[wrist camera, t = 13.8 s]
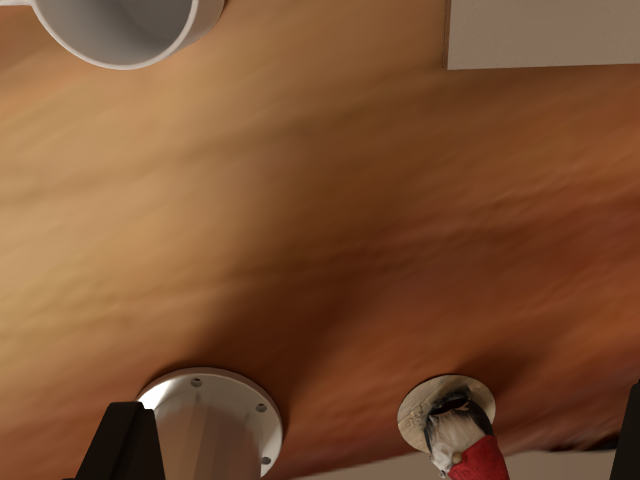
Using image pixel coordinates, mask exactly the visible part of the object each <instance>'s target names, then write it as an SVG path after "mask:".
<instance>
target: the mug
mask: <svg viewBox="0 0 640 480" xmlns="http://www.w3.org/2000/svg"><path fill="white" fill-rule="evenodd" d="M224 1H225V0H0V5H31V6H32V8H33V10H34V11H35V13H36V15H37V17H38V18H39V20H40V22H41V23H42V24H43V26H44V27H45V28H46V30H47V31H48V32H49V33H50V34H51V36H52V37H53V38H54V39H55V40H56V41H57V42H58V43H60V44H61V45H62V46H63V47H64V48H66V49H67V50H68V51H70V52H71V53H72V54H74V55H76V56H77V57H79V58H81V59H83V60H85V61H87V62H89V63H92V64H95V65H97V66H101V67H105V68H110V69H119V70H129V69H137V68H142V67H146V66H149V65H152V64H154V63H156V62H158V61H161V60H163V59H165V58H167V57H169V56H171V55H173V54H174V53H176V52H178V51H180V50H181V49H183V48H185V47H186V46H188V45H190V44H192V43H194V42H195V41H197V40H198V39H200V38H201V37H203V36H204V35H206V34H207V33H208V32H209V31H210V30H211V29H212V28H213V27H214V25H215V24H216V23H217V21H218V19H219V17H220V15H221V13H222V10H223V6H224Z"/></svg>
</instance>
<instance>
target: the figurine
mask: <svg viewBox="0 0 640 480" xmlns="http://www.w3.org/2000/svg"><path fill="white" fill-rule="evenodd" d="M489 391H490V390H489V389H488V388H487V387H486V386H485V385H484V384H483V383H481V382H480V381H478V380H475V379H473V378H470V377H468V376H467V377H466V376H459V375H446V376H441V377H438V378H434V379H432V380H429V381H427V382H425V383H423V384H420V385H419V386H417V387H416V388H415V389H413V390H412V391H411V392H410V393H409V394H408V395H407V396H406V397H405V399H404V401H403V402H402V403H401V404H400V406H401V407H400V408H399V410H398V417H397V418H398V427H399V430H400V432H401V434H402V436H403V438H404V439H405V440H406V441H407V442H408V443H409V444H410V445H411V446H413V447H414V448H416V449H419V450H420V451H424V452H427V453H431V454H432V456H430V460H431V461H432V463H433V464H435V465H436V466H437V467H438V468H439V469H440V470H441V474H439V476H441V477H442V478H444V479H445V472H447V474H448V476H449V477H450V478H451V479H452V480H510V479H509V475H508V471H507V468H506V464H505V461H504V458H503V455H502V453H501V451H500V449H499V447H498V444H497V438H496V437H495V436H494V435H493V429H492V425H491V424H492V422H493V419H494V416H495V401H494V398H493V395H492V394H491V392H489ZM459 398H462V399H465V401H466V404H465V405H463V406H462V407H460V408H458V409H453V408H452V409H451V410H450V411H448V412H446V413H443V414H439V415H434V414H435V411H436V410H437V409H438V408H440V407H441V406H442V405H445V403H447V402H449V401H450V400H455V399H459ZM444 471H445V472H444Z"/></svg>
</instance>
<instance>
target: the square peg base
mask: <svg viewBox="0 0 640 480" xmlns="http://www.w3.org/2000/svg"><path fill="white" fill-rule="evenodd" d="M630 63H640V0H446V15H445V33H444V50H443V68H444V69H446V70H458V69H487V68H516V67H544V66H573V65H601V64H630Z"/></svg>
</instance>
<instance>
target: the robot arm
mask: <svg viewBox="0 0 640 480" xmlns="http://www.w3.org/2000/svg"><path fill="white" fill-rule="evenodd" d="M282 436H283V429H282V419H281V416H280V413H279V410H278V408H277V406H276V405H275V403H274V401H273V400H272V398H271V397H270V396H269V395H268V394H267V393H266V392H265V390H264V389H263V388H261V387H260V386H258V385H257V384H256V383H254V382H253V381H252V380H250V379H248V378H246V377H244V376H242V375H240V374H237V373H234V372H231V371H227V370H224V369H218V368H211V367H193V368H187V369H181V370H177V371H174V372H171V373H168V374H165V375H163V376H161V377H160V378H158V379H156V380H154V381H153V382H151V383H150V384H149V385H148V386H147V387H145V388H144V389H143V390H142V391H141V392H140V394H139V395H138V396H137V398H136V399H135V400H134V401H132V402H112V403H110V404H109V406H108V407H107V410H106V412H105V414H104V416H103V418H102V420H101V423H100V425H99V427H98V429H97V431H96V434H95V436H94V438H93V440H92V442H91V444H90V447H89V449H88V451H87V453H86V455H85V457H84V460H83V462H82V464H81V466H80V468H79V471H78V473H77V475H76V477H75V478H68V479H62V480H261V477H262V476H263V475H265V474H266V473H267V471H268V470H269V469H270V468H271V467H272V466H273V464H274V463H275V461H276V459H277V457H278V456H279V453H280V449H281V446H282ZM609 480H640V379H639V381H638V383H637V384H634V385H633V386H632V388H631V391H630V395H629V399H628V403H627V407H626V412H625V416H624V420H623V424H622V429H621V433H620V437H619V441H618V445H617V450H616V454H615V458H614V462H613V467H612V471H611V475H610V479H609Z"/></svg>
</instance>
